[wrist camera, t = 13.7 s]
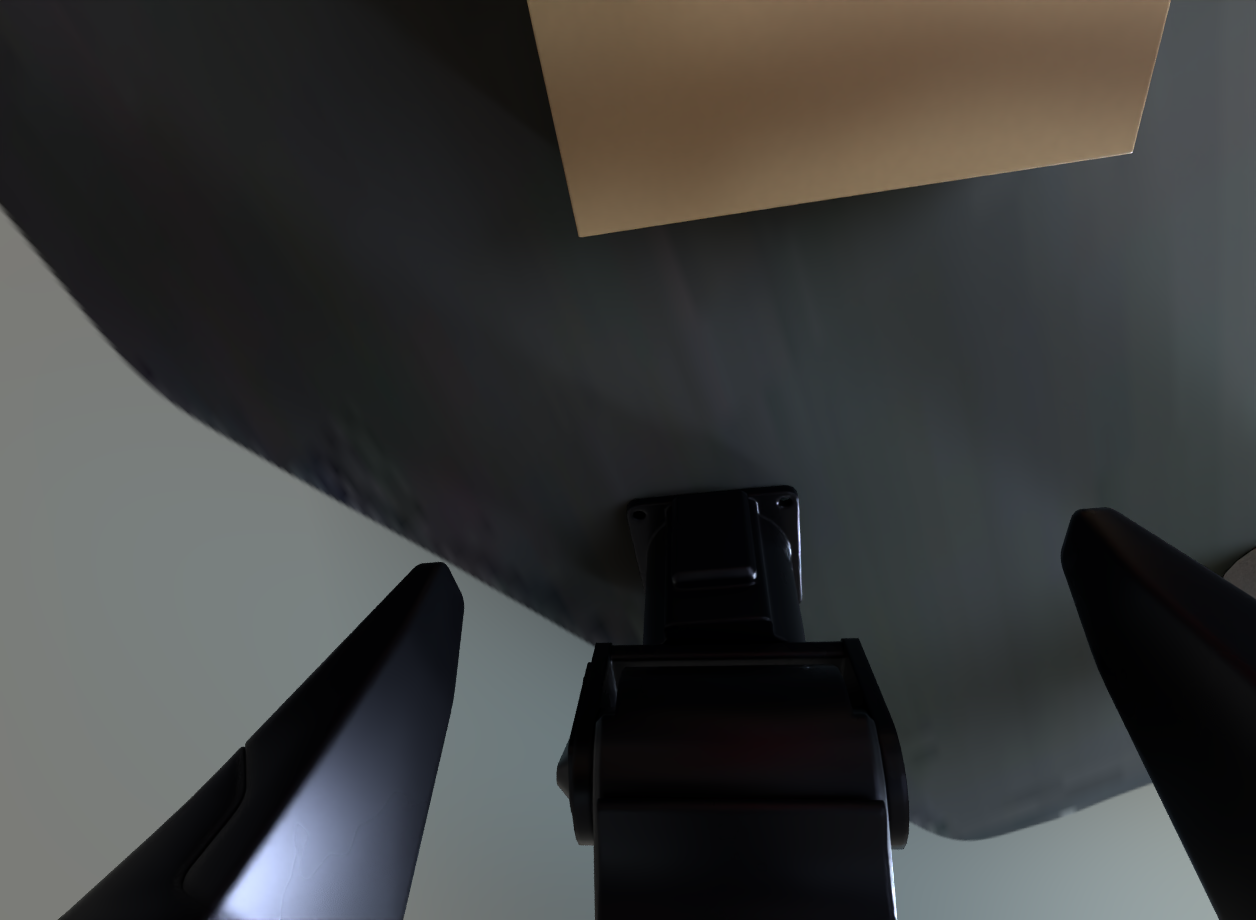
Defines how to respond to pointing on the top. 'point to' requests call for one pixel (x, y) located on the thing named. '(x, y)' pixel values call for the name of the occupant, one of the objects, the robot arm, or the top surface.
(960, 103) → the birch box
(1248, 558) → the house plant
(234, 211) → the top surface
